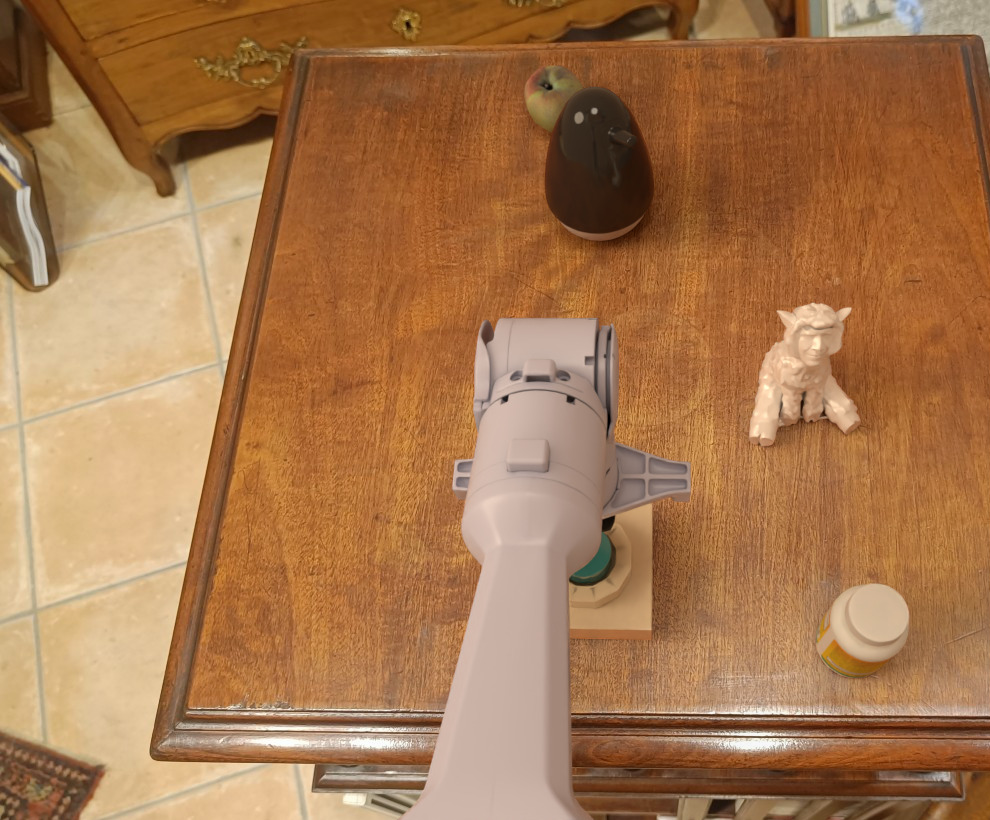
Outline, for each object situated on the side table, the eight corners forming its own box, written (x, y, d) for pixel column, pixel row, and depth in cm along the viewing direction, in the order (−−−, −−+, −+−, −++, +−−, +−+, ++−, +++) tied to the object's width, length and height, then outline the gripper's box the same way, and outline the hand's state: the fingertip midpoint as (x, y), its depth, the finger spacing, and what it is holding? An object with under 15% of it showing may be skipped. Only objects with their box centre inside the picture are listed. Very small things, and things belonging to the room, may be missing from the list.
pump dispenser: (594, 277, 86) (584, 165, 73) (528, 211, 90) (507, 92, 77) (677, 220, 89) (682, 101, 75) (609, 158, 93) (602, 35, 79)
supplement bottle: (805, 617, 71) (826, 581, 62) (871, 602, 71) (902, 564, 63) (828, 688, 68) (853, 660, 60) (897, 671, 69) (932, 641, 60)
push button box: (651, 640, 71) (652, 624, 66) (522, 637, 71) (513, 621, 67) (652, 517, 75) (652, 494, 71) (530, 515, 76) (523, 492, 71)
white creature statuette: (749, 452, 77) (765, 383, 67) (727, 364, 81) (739, 286, 71) (860, 434, 78) (893, 363, 67) (832, 348, 82) (860, 267, 71)
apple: (590, 89, 97) (586, 44, 92) (583, 146, 94) (579, 103, 88) (533, 87, 98) (527, 42, 92) (524, 145, 94) (517, 101, 89)
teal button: (611, 584, 68) (610, 577, 66) (557, 583, 68) (555, 576, 67) (612, 532, 70) (612, 524, 68) (560, 532, 70) (558, 524, 68)
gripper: (693, 385, 53) (684, 467, 66) (445, 384, 54) (483, 465, 66) (694, 501, 50) (685, 564, 63) (432, 498, 51) (474, 561, 64)
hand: (581, 520), depth 64 cm, fingers closed
